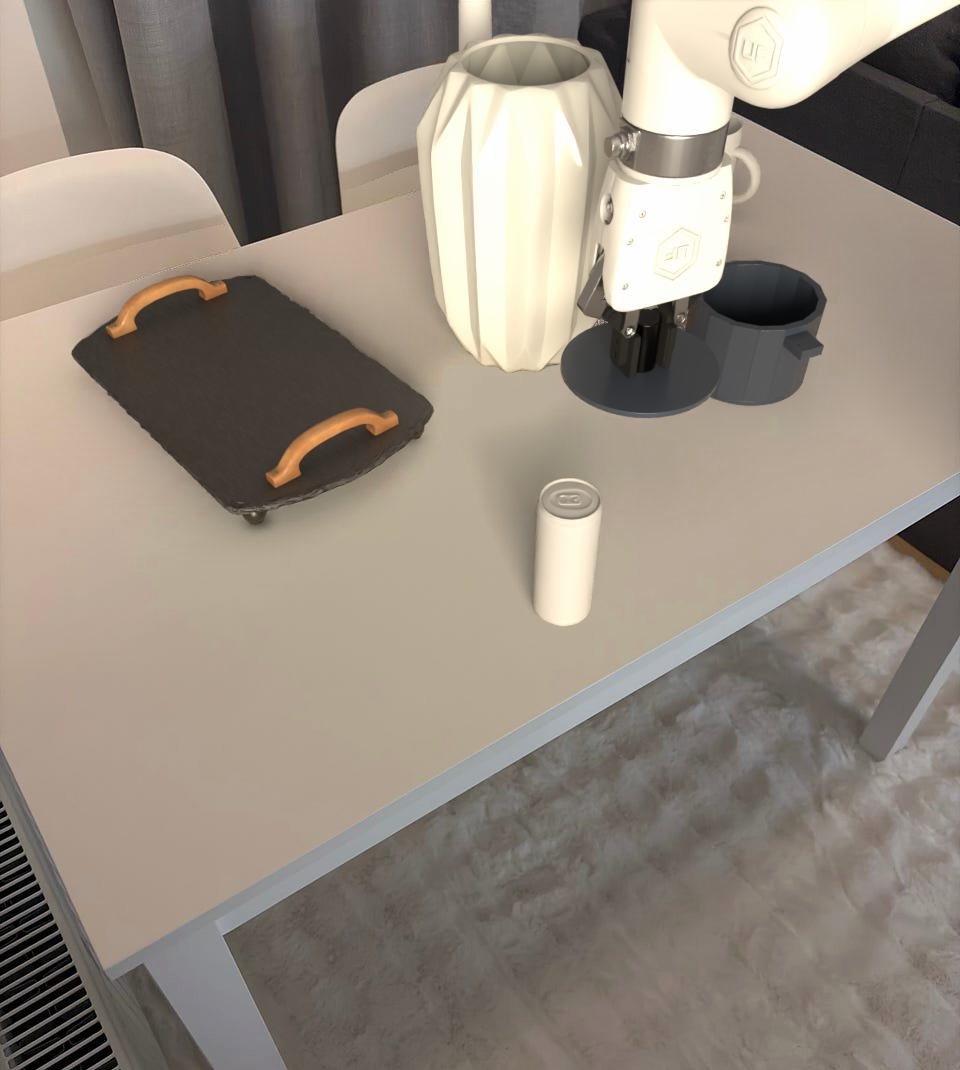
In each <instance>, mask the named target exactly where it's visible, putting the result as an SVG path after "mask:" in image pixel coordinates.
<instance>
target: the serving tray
mask: <svg viewBox="0 0 960 1070" xmlns="http://www.w3.org/2000/svg"><path fill="white" fill-rule="evenodd" d="M71 356H72V359H73V360H74V362H76V363H77V364H78V365H79V366H80V367H81V368H82V369H83V370H84V371H85V372H86V373H87V374H88V376H89V377H90V378H91V379H93V380H94V381H95V383H97V384H98V385H99V386H100V387H101V388H102V389H103V390H104V391H106V393H107V396H109V397H111V398H112V399H113V400H114V401H115V402H117V403H118V405H119V406H120V407H121V408H122V409H124V411H125V412H126V414H127V415H129V416H130V417H131V418H132V419H133V420H135V421H136V422H137V423H138V424H139V425H140V428H141V429H143V430H144V431H146V432H147V433H148V434H149V436H150V438H152V439H153V440H154V441H155V442H156V443H158V444H159V445H160V446H161V448H162V449H163V450H164V451H165V452H166V453H167V454H168V455H169V456H170V457H171V458H173V459H174V461H175V462H176V463H177V464H178V465H179V466H181V467H182V468H183V469H184V470H185V471H186V472H187V473H188V474H189V475H190V476H191V477H192V478H193V480H195V482H197V483H198V484H199V485H200V486H201V488H203V489H204V490H205V491H206V492H207V493H208V494H209V495H210V496H211V497H212V498H213V499H214V500H215V501H216V502H217V503H218V504H219V505H220V506H221V507H222V508H223V509H224V510H226V511H228V513H231V514H232V515H236V516H237V515H238V516H239V515H242V517H243V518H244V520H245V521H247V522H248V523H249V524H250V525H254V526H257V525H260V524H262V523H263V522H264V520H265V518H266V514H267V511H268V512H269V511H274V510H277V509H279V508H280V507H283V506H284V507H285V506H290V505H294V504H297V503H300V502H303V501H307V500H311V499H313V498H316V497H318V496H320V495H322V494H324V493H326V492H329V491H331V490H333V489H336V488H338V487H342V486H343V485H346V484H349V483H351V482H354V481H355V480H357V479H359V478H361V477H363V476H365V475H367V474H368V473H369V472H371V471H372V470H374V469H375V468H377V467H379V466H381V465H383V464H384V463H385V462H386V461H387V460H388V459H389V458H391V457H392V456H393V455H395V454H396V453H398V452H400V451H401V450H402V449H404V448H405V447H406V446H407V445H408V444H409V443H410V442H411V441H412V440H419V439H420V438H421V437H422V435H423V434H424V432H425V427H426V425H427V424H428V423H429V421H430V420H431V418H432V416H433V414H434V412H435V408H434V406H433V404H432V403H431V402H430V401H429V400H428V399H427V398H426V397H425V396H424V395H423V394H421V393H420V392H418V391H417V390H415V389H414V388H412V386H411V385H410V384H408V383H407V382H406V381H403V380H402V379H400V378H399V377H398V376H397V375H396V374H394V373H393V372H392V371H390V370H389V369H388V368H387V367H386V366H384V364H382V363H381V362H379V361H378V360H377V359H375V358H373V357H371V356H369V355H367V354H366V353H364V352H363V351H361V350H359V349H358V348H357V347H356V346H355V345H354V344H353V343H352V342H351V341H350V339H348V338H347V337H346V336H344V335H343V334H341V333H340V331H338V330H336V329H334V328H332V327H331V326H329V325H328V324H327V323H325V322H323V321H322V320H320V319H319V318H317V316H316V315H315V314H313V313H311V310H310V309H308V308H307V307H306V306H303V305H301V304H299V303H297V302H296V301H294V300H291V298H290V297H289V296H287V295H286V294H283V292H282V291H280V289H278V287H276V286H274V285H273V284H270V283H269V282H268V281H267V280H266V279H265V278H263V277H261V276H258V275H257V274H251V275H248V274H247V275H244V274H243V275H235V276H233V277H230V278H229V277H228V278H224V279H223V278H222V279H217V280H211V281H208V280H206V279H204V278H202V277H200V276H197V275H195V274H194V275H193V274H182V275H176V276H172V277H168V278H166V279H163V280H160V281H158V282H156V283H153V284H151V285H148V286H146V287H144V288H143V289H141V290H139V291H137V292H136V293H135V294H133V295H132V296H130V297H129V298H128V299H127V300H126V302H125V303H124V305H123V306H122V308H121V309H120V312H119V313H118V315H116V316H114V317H113V318H111V319H110V320H109V321H107V322H105V323H104V324H102V325H100V326H99V327H98V328H97V329H95V330H94V331H93V332H91V334H89V335H88V336H86V337H83V338H82V339H81V340H80V341H78V342H77V343H76V345H75V346H74V347H73V348H72V350H71Z"/></svg>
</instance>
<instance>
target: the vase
mask: <svg viewBox="0 0 960 1070" xmlns="http://www.w3.org/2000/svg"><path fill="white" fill-rule="evenodd" d="M622 101H623V97H622V96H621V94H620V91H619V89H618V86H617V85H616V82H615V80H614V78H613V76H612V73H611V70H610V68H609V67H608V64H607V62H606V60H605V58H604V56H603V54H602V53H601V51H599V50H597V49H594V48H591V47H587V46H583V45H582V44H581V43H580V41H579V40H578V39H576V38H571V37H555V36H551V35H550V34H546V33H544V32H533V33H527V34H514V33H501V34H496V35H495V36H492V38H491V39H487V40H476V41H471V42H468V43H467V45H466V46H465V48H464V49H463V50H461V51H459V50H458V51H456V52H453V53H451V54H450V55H449V56H448V57H447V59H446V61H445V63H444V64H443V67H442V69H441V71H440V74H439V75H438V78H437V80H436V82H435V85H434V86H433V89H432V91H431V94H430V96H429V98H428V101H427V103H426V105H425V107H424V110H423V112H422V115H421V117H420V119H419V122H418V124H417V127H416V146H417V147H416V148H417V159H418V160H417V161H418V171H419V182H420V190H421V191H420V192H421V199H422V207H423V215H424V216H423V217H424V223H425V224H424V225H425V232H426V233H425V234H426V241H427V247H428V248H427V249H428V256H429V257H428V258H429V264H430V268H431V269H430V270H431V271H430V272H431V275H432V284H433V290H434V297H435V301H436V303H437V304H438V306H439V307H438V308H440V310H441V312H442V313H443V315H444V317H445V319H446V321H447V324H448V327H449V328H450V330H451V331H452V333H453V334H454V336H455V338H456V339H457V340H458V342H459V344H461V346H462V348H463V349H464V350H465V351H466V352H467V353H469V354H471V355H472V356H473V357H474V359H475V360H476V361H477V362H478V363H479V364H480V365H482V366H484V367H495V368H499V369H500V370H501V371H503V372H505V373H508V374H511V373H515V372H519V371H526V372H531V373H537V372H538V373H539V372H540V371H542V370H543V369H544V368H545V367H547V366H551V365H560V363H561V356H562V353H563V351H564V349H565V347H566V346H567V344H568V343H569V342H570V341H571V340H572V339H573V338H574V337H576V336H577V335H578V334H580V333H582V332H583V331H585V330H587V329H590V328H592V327H594V326H595V324H596V323H597V321H598V320H599V319H597V318H593V317H589V316H585V315H584V314H583V313H582V312H581V311H580V310H579V309H578V307H577V305H576V303H577V301H578V299H579V297H580V295H581V293H582V291H583V289H584V287H585V285H586V283H587V281H588V279H589V277H588V270H589V255H590V247H591V239H592V233H593V226H594V220H595V215H596V210H597V205H598V201H599V197H600V192H601V189H602V185H603V181H604V178H605V174H606V171H607V168H608V165H609V162H610V160H612V159H614V158H617V157H612V158H607V157H606V155H605V153H604V146H603V144H604V140H605V138H606V137H609V136H613V135H614V134H615V133H618V123H619V117H621V111H622Z"/></svg>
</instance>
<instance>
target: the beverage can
mask: <svg viewBox="0 0 960 1070" xmlns="http://www.w3.org/2000/svg"><path fill="white" fill-rule="evenodd" d="M538 496H539V497H538V499H537V502H536V513H535V515H536V516H535V535H534V537H535V538H534V556H533V557H534V558H533V559H534V560H533V579H532V580H533V582H532V601H531V602H532V607H533V610H534V611H535V614H536V615H537V616H538V617H540V618H541V619H542V620H543V621H545V622H547V623H549V624H551V625H554V626H558V627H571V626H573V625H577V624H579V623H580V622H582V621H583V620H584V619H586V618H587V616H588V615H589V614H590V612H591V611H592V610H591V609H592V603H593V595H594V586H595V579H596V578H595V577H596V569H597V562H598V552H599V544H600V536H601V527H602V519H603V509H604V505H603V497H602V494H601V492H600V490H599V489H598V488H597V487H596V486H595V485H593V483H591V482H589V481H587V480H585V479H581V478H577V477H561V478H557V479H553V480H552V481H550V482H548V483H547V484H546V485H544V486H543V487H542V488H541V491H540V492H539V495H538Z"/></svg>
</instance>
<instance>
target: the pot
mask: <svg viewBox="0 0 960 1070" xmlns="http://www.w3.org/2000/svg"><path fill="white" fill-rule="evenodd" d="M827 302H828V299H827V296H826V295H825V292H824V290H823V288H822V286H821V284H820V283H818V282H817V281H816V280H814V279H813V278H812V277H811V276H809V275H808V274H807V273H805V272H804V271H803V272H802V271H800V270H798V269H796V268H793V267H791V266H788V265H786V264H783V263H777V262H772V261H765V260H761V259H759V260H754V259H753V260H731V261H726V260H725V265H724V270H723V276H722V278H721V280H720V281H719V283H718V284H717V285H716V286H714V287H713V288H711V289H709V290H708V291H705V292H702V294H701V296H700V297H699V298H698V299H697V300H696V302H695V303H694V304H693V305H692V306H691V307H690V308H689V309H688V310H687V317H686V323H685V328H684V331H686V332H688V333H690V334H692V335H694V336H696V337H697V338H699V339H700V340H702V341H703V342H704V343H705V344H706V345H707V346H708V347H709V348H710V349H711V350H712V351H713V353H714V354H715V356H716V358H717V360H718V362H719V367H720V377H719V381H718V385H717V387H716V389H715V391H714V392H713V394H712V395H711V396H710V397H709V398H711V399H714V400H717V401H720V402H723V403H727V404H732V405H738V406H764V405H771V404H775V403H778V402H781V401H784V400H786V399H788V398H790V397H791V396H793V395H794V394H795V393H796V392H797V391H798V390H799V389H800V388H801V387H802V386H803V385H802V384H803V383H804V379H805V375H806V372H807V370H808V366H809V363H810V359H811V358H814V357H818V356H822V353H823V350H824V348H825V345H824V344H823V343H822V342H821V341H819V340H818V339H817V336H818V332H819V329H820V325H821V322H822V320H823V319H822V318H823V317H824V316H823V315H824V312H825V309H826V305H827Z"/></svg>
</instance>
